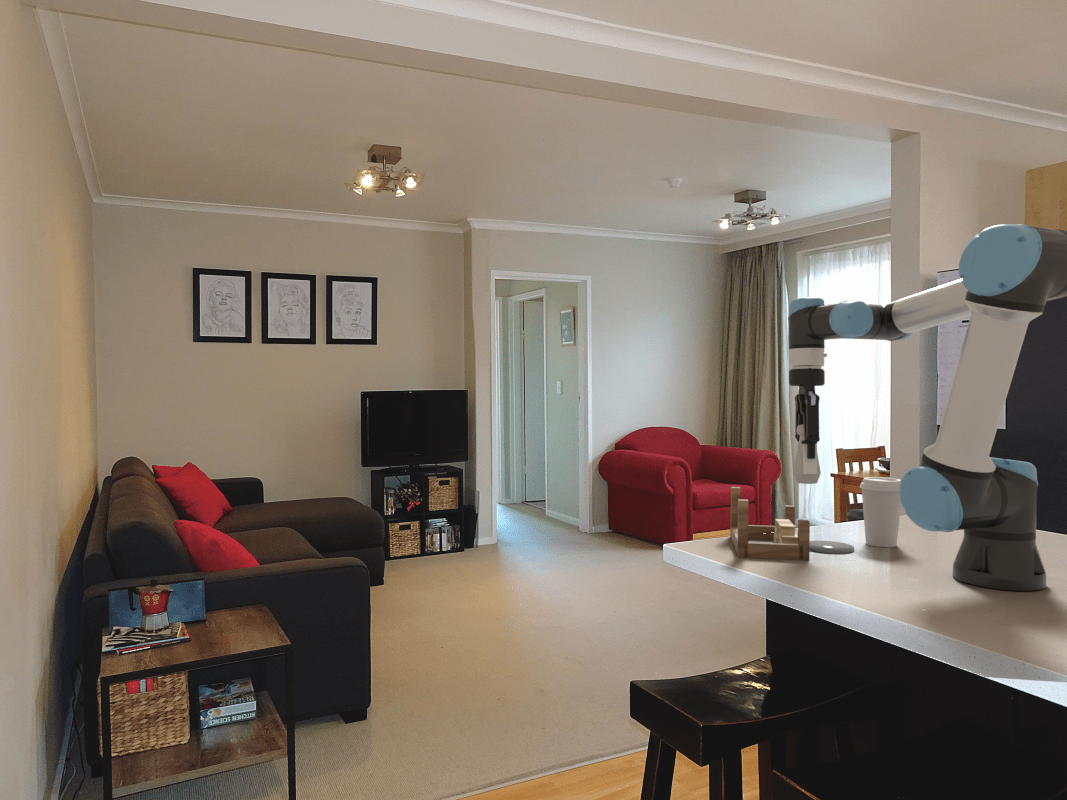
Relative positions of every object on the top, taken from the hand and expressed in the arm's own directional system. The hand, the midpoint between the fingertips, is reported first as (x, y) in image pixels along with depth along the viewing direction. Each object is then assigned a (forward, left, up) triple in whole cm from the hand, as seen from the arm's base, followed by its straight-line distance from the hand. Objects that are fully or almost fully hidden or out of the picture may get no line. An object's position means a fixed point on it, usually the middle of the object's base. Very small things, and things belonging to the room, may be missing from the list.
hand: (807, 472), depth 174 cm
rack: (-1, +8, -17) cm, 19 cm away
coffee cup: (+8, -18, -17) cm, 26 cm away
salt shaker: (0, 0, -3) cm, 3 cm away
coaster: (+1, -5, -17) cm, 18 cm away
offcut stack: (-1, +4, -17) cm, 18 cm away
